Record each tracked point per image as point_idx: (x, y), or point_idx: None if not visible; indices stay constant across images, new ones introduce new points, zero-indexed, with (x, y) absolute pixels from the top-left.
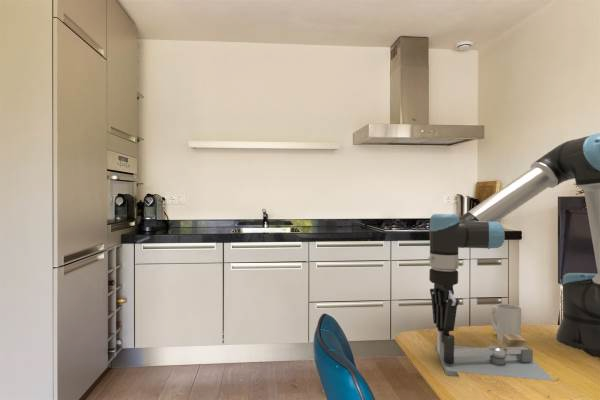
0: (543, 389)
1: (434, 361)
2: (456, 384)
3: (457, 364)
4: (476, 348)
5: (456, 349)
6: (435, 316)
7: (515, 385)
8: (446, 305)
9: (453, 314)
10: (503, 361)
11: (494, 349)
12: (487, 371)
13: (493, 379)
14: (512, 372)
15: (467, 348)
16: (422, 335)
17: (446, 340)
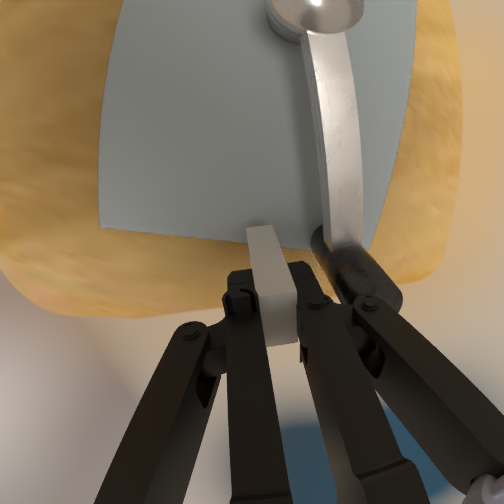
0: (433, 7)
1: (249, 259)
2: (410, 239)
3: None
4: (327, 105)
5: (339, 225)
6: (209, 403)
7: (424, 61)
8: (453, 479)
9: (462, 396)
10: None
11: (354, 25)
12: (383, 108)
13: None
14: (382, 22)
15: (329, 159)
16: (12, 240)
17: None
